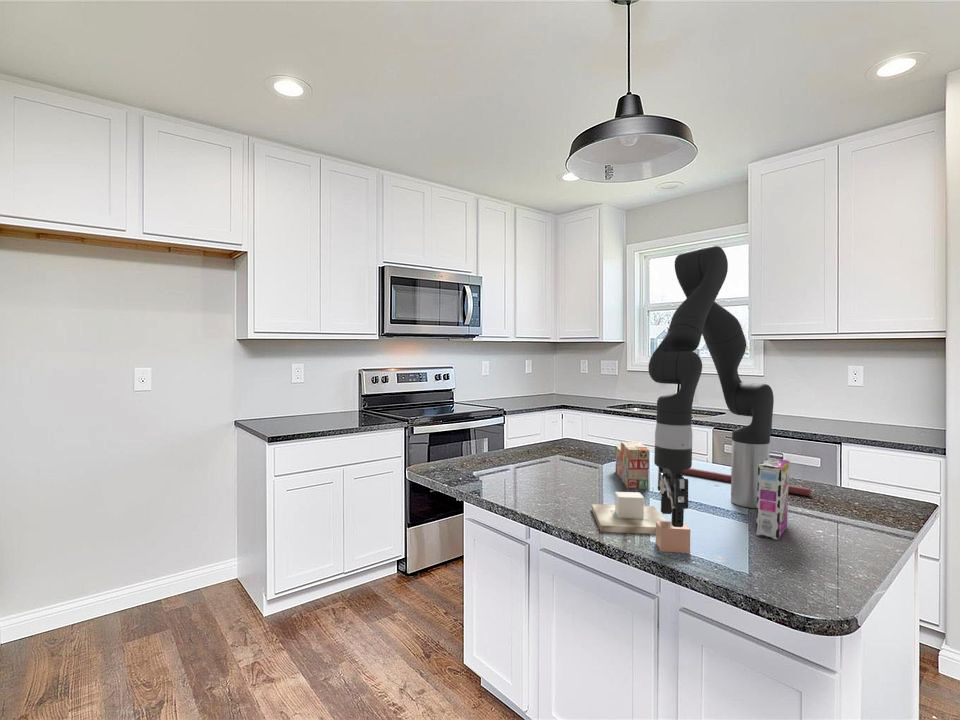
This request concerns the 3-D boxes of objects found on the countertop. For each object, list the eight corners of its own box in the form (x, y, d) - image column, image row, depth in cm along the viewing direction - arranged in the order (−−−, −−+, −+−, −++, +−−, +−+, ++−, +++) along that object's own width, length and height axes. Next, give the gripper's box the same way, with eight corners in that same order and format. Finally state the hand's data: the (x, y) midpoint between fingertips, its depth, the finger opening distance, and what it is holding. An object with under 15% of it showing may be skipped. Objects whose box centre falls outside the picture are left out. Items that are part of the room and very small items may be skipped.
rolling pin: (811, 496, 150) (811, 486, 150) (808, 499, 147) (809, 488, 147) (662, 470, 181) (662, 461, 181) (658, 471, 179) (658, 462, 179)
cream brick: (639, 512, 129) (639, 492, 129) (643, 518, 124) (643, 497, 124) (614, 511, 129) (615, 491, 129) (618, 517, 125) (618, 497, 125)
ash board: (654, 511, 134) (654, 505, 134) (671, 534, 118) (671, 527, 118) (591, 509, 136) (592, 503, 136) (600, 531, 120) (600, 524, 120)
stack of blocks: (614, 471, 177) (615, 436, 177) (633, 472, 177) (633, 436, 176) (627, 489, 156) (628, 448, 156) (648, 489, 156) (649, 449, 155)
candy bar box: (780, 541, 114) (781, 468, 114) (755, 536, 117) (756, 464, 117) (788, 527, 123) (790, 459, 122) (765, 523, 126) (766, 456, 126)
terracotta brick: (684, 544, 112) (684, 522, 112) (690, 553, 108) (690, 529, 108) (655, 543, 113) (655, 521, 113) (660, 551, 109) (660, 528, 108)
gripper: (702, 451, 102) (700, 532, 103) (681, 439, 117) (679, 510, 117) (664, 450, 103) (662, 530, 104) (647, 438, 117) (645, 508, 118)
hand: (671, 519), depth 110 cm, fingers open, 8 cm apart
